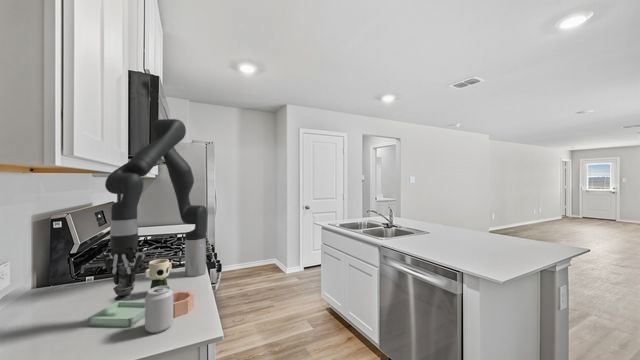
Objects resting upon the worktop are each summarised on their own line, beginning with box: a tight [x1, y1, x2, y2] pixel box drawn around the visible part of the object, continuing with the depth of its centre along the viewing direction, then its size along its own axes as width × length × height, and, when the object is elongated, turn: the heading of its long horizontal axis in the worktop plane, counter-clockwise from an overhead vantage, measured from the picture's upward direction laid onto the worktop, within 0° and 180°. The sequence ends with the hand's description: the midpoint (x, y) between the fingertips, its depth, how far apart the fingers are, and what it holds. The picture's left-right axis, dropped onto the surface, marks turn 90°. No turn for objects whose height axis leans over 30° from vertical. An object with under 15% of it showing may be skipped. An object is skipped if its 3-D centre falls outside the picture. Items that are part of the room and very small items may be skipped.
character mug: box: [144, 258, 173, 290], centre depth 107 cm, size 11×7×13 cm, turn 157°
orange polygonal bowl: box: [173, 290, 195, 319], centre depth 94 cm, size 10×10×4 cm
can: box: [144, 285, 174, 334], centre depth 82 cm, size 8×8×12 cm
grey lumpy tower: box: [113, 264, 136, 302], centre depth 89 cm, size 6×6×12 cm
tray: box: [87, 300, 145, 328], centre depth 89 cm, size 12×14×2 cm
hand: (124, 283), depth 89 cm, fingers closed on grey lumpy tower, 3 cm apart
